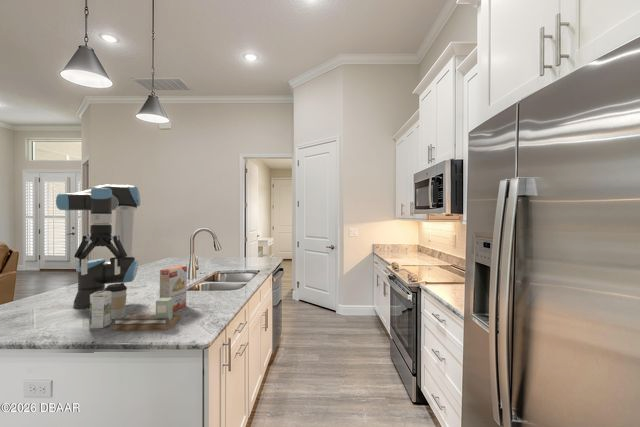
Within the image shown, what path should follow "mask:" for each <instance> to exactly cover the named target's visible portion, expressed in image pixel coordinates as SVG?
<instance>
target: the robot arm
mask: <svg viewBox="0 0 640 427" xmlns="http://www.w3.org/2000/svg"><path fill="white" fill-rule="evenodd" d="M55 205H56V208H57V209H58V210H59V211H66V212H67V211H90V224H91V225H90V228H89V231H90V235H83V236H82V237H81V238H82V239H81V242H80V244H79V246H78V248H77V249H76V252H75V253H74V255H73V256H74V258H76V259H79V262H78V263H79V264H78V266H77V292H76V295H75V297H74V300H73V304H72V305H73V308H75V309H90V294H93V293H95V292H98V291H104V290H105V288H106V285H107V284H121V283H124V284H125V283H131V282H133V281H134V280H135V279H136V277H137V273H138V267H139V261H138V260H136V257H135V256H134V255H133V239H134V238H133V234H134V214H135V211H137V209H138V207H139V206H141V195H140V191H139V188H138V187H137V186H136V185H130V184H126V185H125V184H103V185H102V184H100V185H95V186H90V187H88V188H87V189H85V190H83V191H77V192H72V193H71V192H62V193H61V192H60V193H58V194H57V195H56V198H55ZM113 211H115V219H114V220H115V221H114V235H112V232H113V231H112V229H113V225H111V224H112V223H113V214H112V212H113ZM90 241H91V242H90ZM112 241H113V242H112ZM89 242H90V243H89ZM88 243H89V244H88ZM87 245H88V246H87ZM96 247H106V248H108V250H109V251H110V252H111V253H112V254H113V255H112V256H110V257H109V261H106V259H105V258H97V259H90V260H88V258H87V256H88V255H89V254H90V253H91V252H92V251H93V249H95V248H96Z"/></svg>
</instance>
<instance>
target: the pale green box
mask: <svg viewBox="0 0 640 427" xmlns="http://www.w3.org/2000/svg"><path fill="white" fill-rule="evenodd" d="M159 298H160V297H159ZM159 298H158V299H156V300H155V315H156V318H169V321H170V320H171V319H172V316H173V314H174V313H173V312H174V311H173V298H160V299H159Z"/></svg>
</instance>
